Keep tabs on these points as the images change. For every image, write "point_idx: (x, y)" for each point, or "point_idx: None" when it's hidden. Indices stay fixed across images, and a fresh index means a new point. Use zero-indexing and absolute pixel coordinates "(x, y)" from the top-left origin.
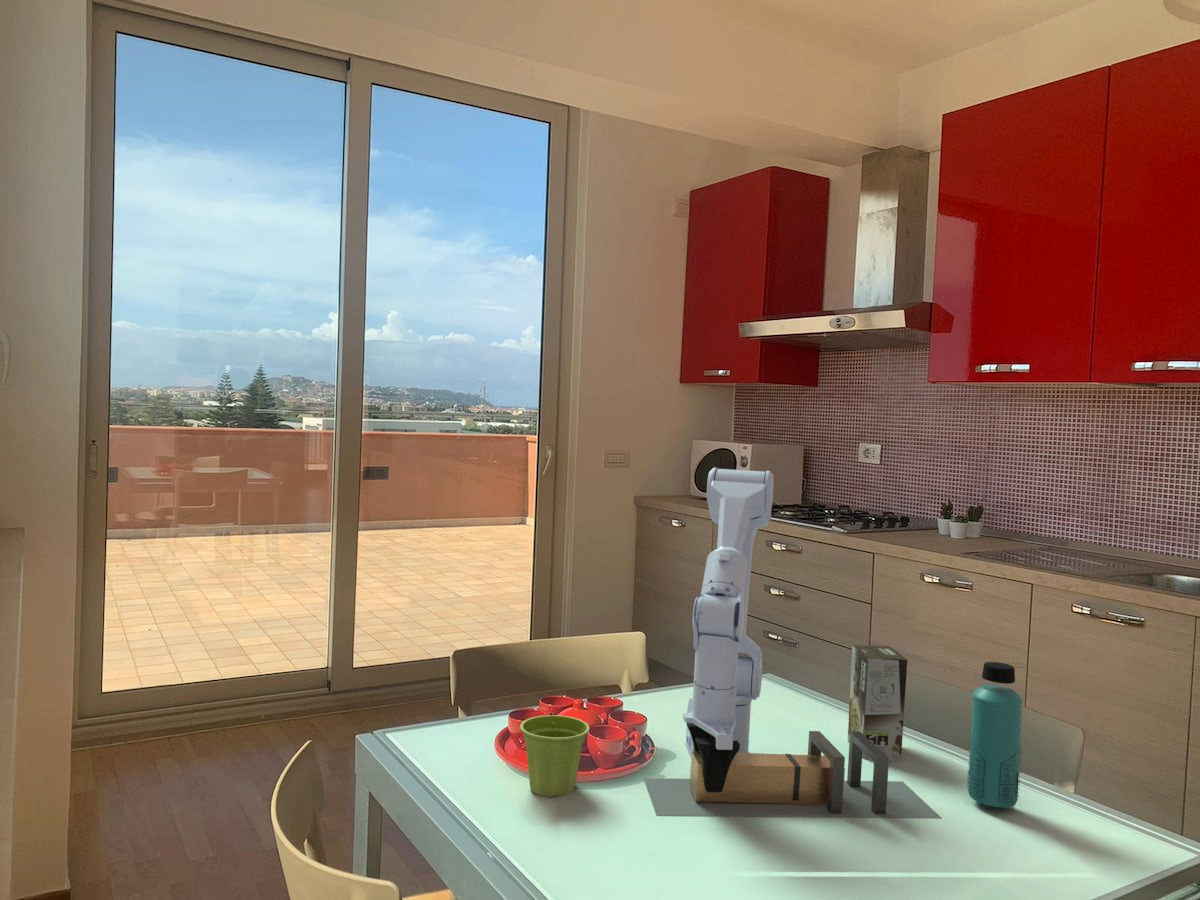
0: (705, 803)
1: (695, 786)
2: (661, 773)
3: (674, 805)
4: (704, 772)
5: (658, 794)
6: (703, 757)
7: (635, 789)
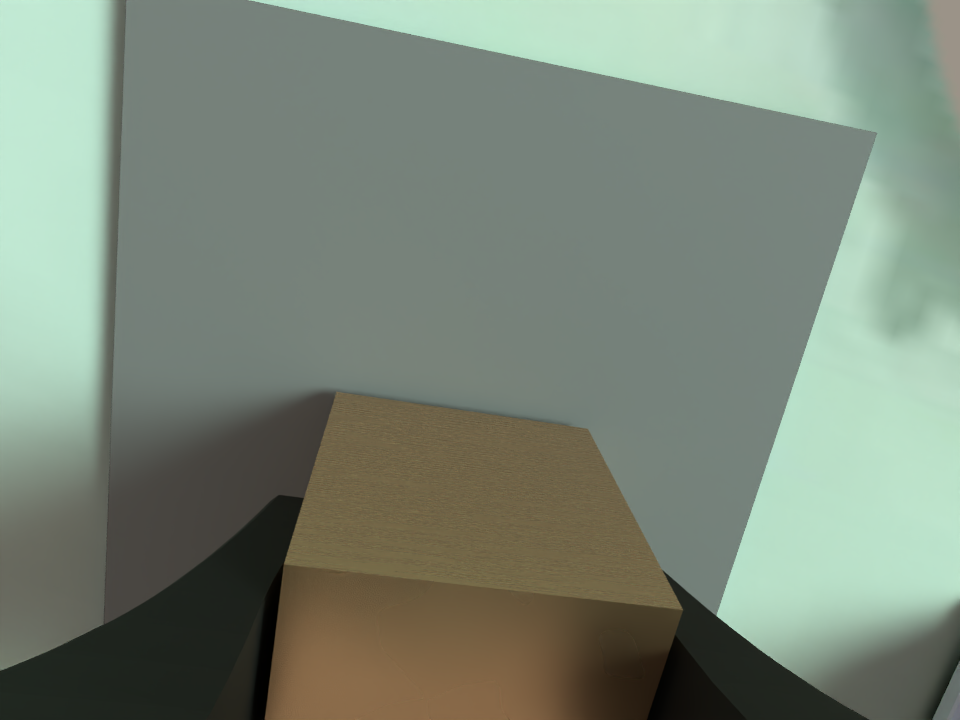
0: None
1: (377, 438)
2: (944, 328)
3: (319, 209)
4: (203, 564)
5: (540, 148)
6: (15, 668)
7: (731, 4)
